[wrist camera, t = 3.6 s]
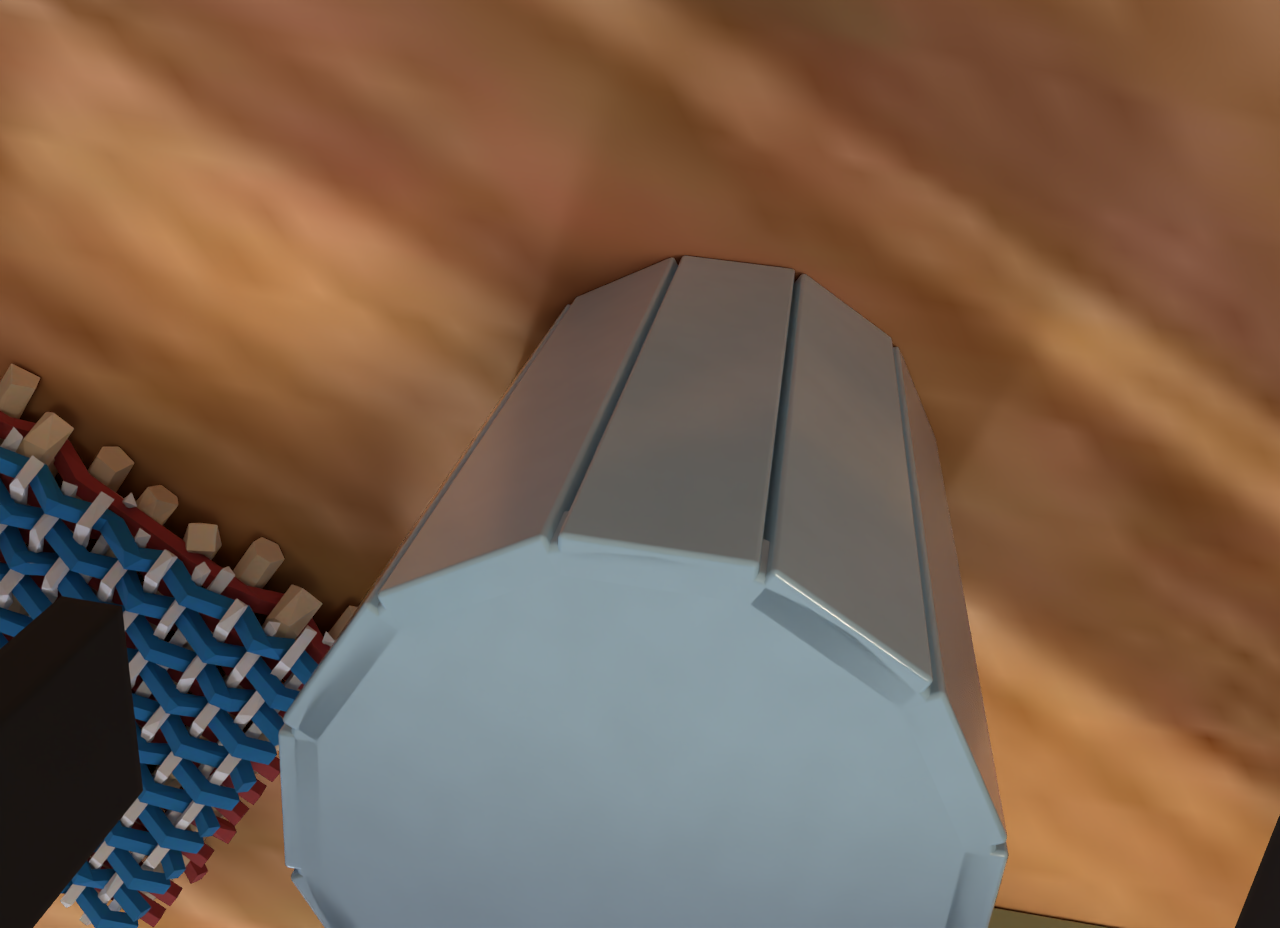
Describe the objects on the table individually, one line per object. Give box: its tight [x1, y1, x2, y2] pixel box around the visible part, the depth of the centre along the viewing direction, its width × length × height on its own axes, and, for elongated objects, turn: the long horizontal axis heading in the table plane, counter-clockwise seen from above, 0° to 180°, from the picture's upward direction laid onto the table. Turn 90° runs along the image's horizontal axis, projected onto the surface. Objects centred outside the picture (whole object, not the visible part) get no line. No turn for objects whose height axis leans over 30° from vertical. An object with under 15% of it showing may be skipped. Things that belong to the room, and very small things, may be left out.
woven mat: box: [0, 363, 358, 928], centre depth 25 cm, size 10×11×2 cm
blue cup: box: [278, 256, 1009, 928], centre depth 18 cm, size 8×10×10 cm
